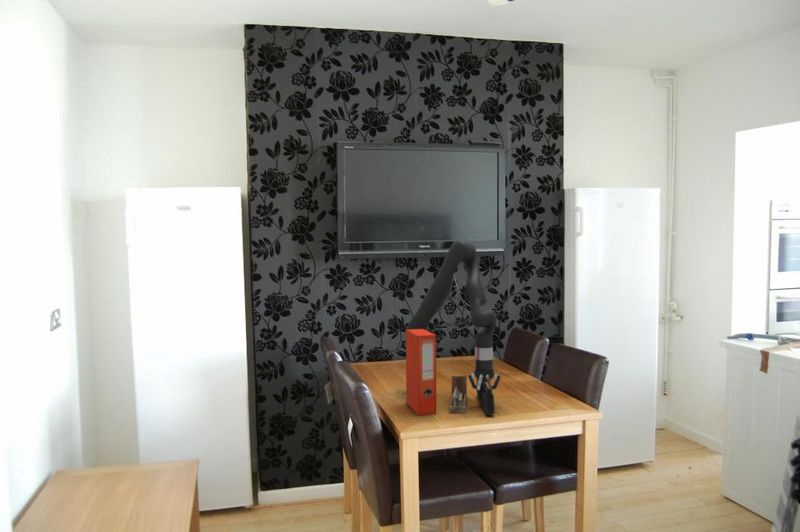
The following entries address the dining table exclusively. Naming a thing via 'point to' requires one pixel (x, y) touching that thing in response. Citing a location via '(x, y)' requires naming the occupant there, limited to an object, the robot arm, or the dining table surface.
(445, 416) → the dining table surface
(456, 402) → the offcut stack
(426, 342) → the file binder
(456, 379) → the rack
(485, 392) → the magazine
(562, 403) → the dining table surface
